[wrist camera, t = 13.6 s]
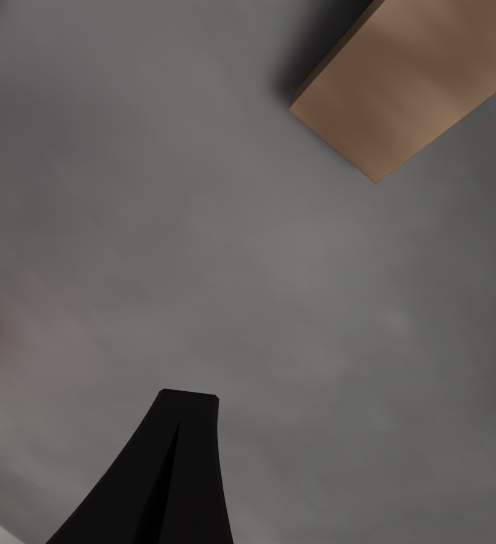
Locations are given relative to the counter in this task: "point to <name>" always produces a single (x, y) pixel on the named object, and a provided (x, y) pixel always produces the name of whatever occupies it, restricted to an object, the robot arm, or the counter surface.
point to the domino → (400, 79)
